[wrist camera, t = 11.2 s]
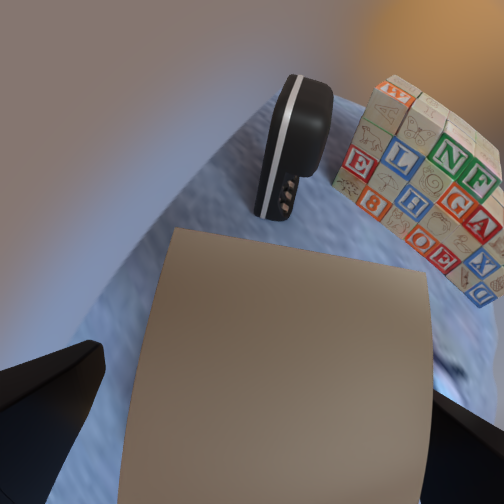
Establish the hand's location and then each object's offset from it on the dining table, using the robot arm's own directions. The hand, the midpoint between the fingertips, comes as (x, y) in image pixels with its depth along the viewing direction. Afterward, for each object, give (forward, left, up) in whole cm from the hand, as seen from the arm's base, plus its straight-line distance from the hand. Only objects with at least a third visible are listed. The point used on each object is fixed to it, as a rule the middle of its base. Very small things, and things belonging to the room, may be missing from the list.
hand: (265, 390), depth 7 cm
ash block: (0, 0, -8) cm, 8 cm away
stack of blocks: (+24, -3, -13) cm, 27 cm away
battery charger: (+15, +10, -13) cm, 22 cm away
